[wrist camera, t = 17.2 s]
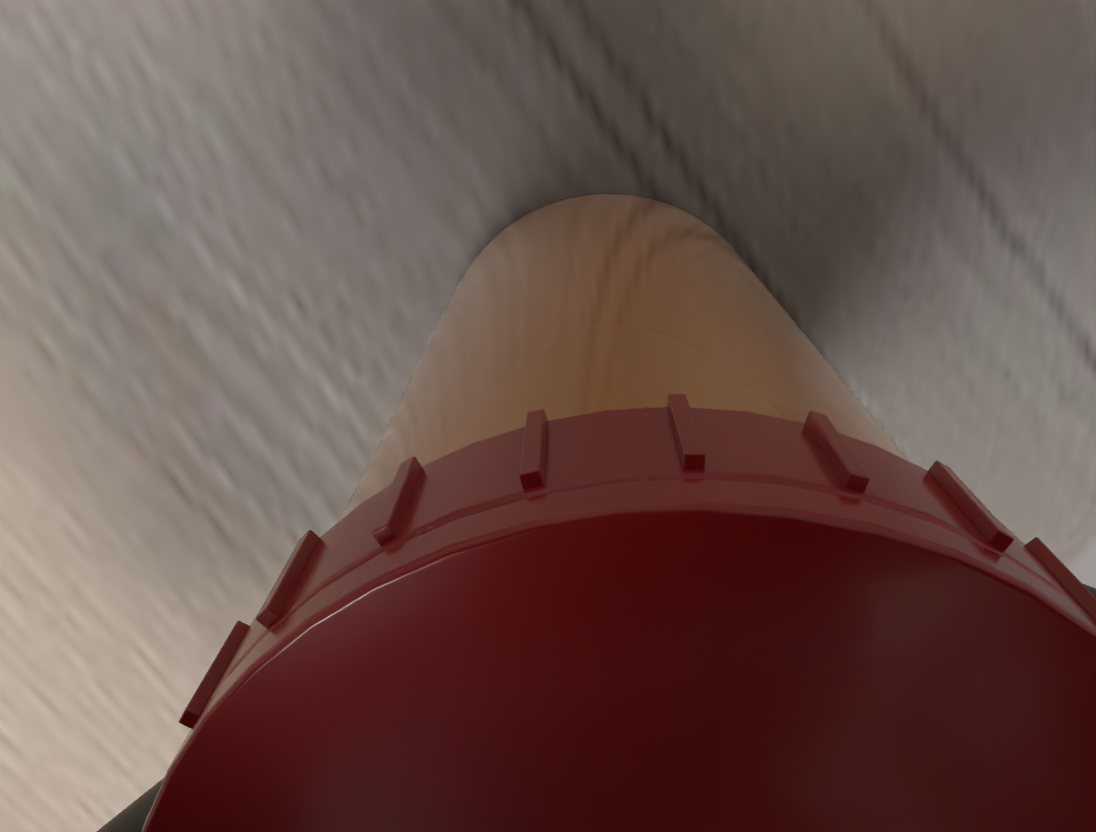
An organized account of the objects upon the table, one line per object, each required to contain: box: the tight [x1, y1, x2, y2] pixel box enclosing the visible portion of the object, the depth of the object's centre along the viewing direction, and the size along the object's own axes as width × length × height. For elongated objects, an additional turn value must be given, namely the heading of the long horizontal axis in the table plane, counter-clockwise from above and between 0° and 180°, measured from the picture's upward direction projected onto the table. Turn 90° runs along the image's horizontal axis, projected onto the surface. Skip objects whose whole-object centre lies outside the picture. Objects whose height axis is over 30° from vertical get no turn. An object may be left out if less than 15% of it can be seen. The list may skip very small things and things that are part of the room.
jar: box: [340, 194, 910, 521], centre depth 12 cm, size 6×6×12 cm
